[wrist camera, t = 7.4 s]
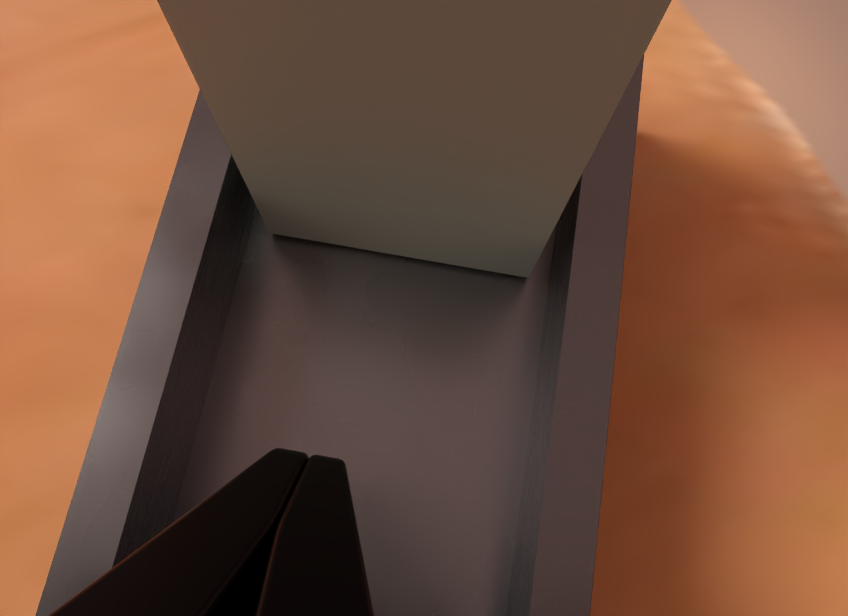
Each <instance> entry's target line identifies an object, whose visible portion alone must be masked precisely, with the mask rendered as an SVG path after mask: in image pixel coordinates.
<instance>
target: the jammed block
mask: <svg viewBox="0 0 848 616" xmlns="http://www.w3.org/2000/svg"><path fill="white" fill-rule="evenodd" d="M157 1H158V3H159V5H160V7H161V9H162V11H163V13H164V15H165V17H166V20H167V22H168V24H169V26H170V28H171V30H172V32H173V34H174V36H175V38H176V40H177V42H178V44H179V46H180V49H181V51H182V53H183V55H184V57H185V59H186V61H187V63H188V65H189V67H190V69H191V71H192V73H193V75H194V78H195V80H196V82H197V84H198V86H199V88H200V90H201V92H202V94H203V96H204V98H205V100H206V102H207V105H208V107H209V109H210V111H211V113H212V115H213V117H214V119H215V121H216V123H217V125H218V127H219V129H220V131H221V134H222V136H223V138H224V140H225V142H226V144H227V146H228V148H229V150H230V152H231V154H232V156H233V158H234V160H235V163H236V165H237V167H238V169H239V171H240V173H241V175H242V177H243V179H244V181H245V183H246V185H247V187H248V189H249V192H250V194H251V196H252V198H253V200H254V202H255V204H256V206H257V208H258V210H259V212H260V214H261V216H262V219H263V221H264V223H265V225H266V227H267V229H268V231H269V233H272V234H278V235H283V236H289V237H295V238H301V239H306V240H312V241H318V242H324V243H330V244H335V245H341V246H347V247H353V248H358V249H364V250H370V251H376V252H382V253H387V254H393V255H399V256H405V257H410V258H416V259H422V260H428V261H433V262H439V263H445V264H451V265H457V266H462V267H468V268H474V269H480V270H485V271H491V272H497V273H503V274H508V275H514V276H520V277H526V278H529V276H530V274H531V272H532V270H533V268H534V266H535V264H536V262H537V260H538V259H539V257H540V255H541V253H542V251H543V249H544V247H545V245H546V243H547V241H548V239H549V237H550V235H551V233H552V231H553V229H554V227H555V226H556V224H557V222H558V220H559V218H560V216H561V214H562V212H563V210H564V208H565V206H566V204H567V202H568V200H569V198H570V196H571V194H572V193H573V191H574V189H575V187H576V185H577V183H578V181H579V179H580V177H581V175H582V173H583V171H584V169H585V167H586V165H587V163H588V161H589V160H590V158H591V156H592V154H593V152H594V150H595V148H596V146H597V144H598V142H599V140H600V138H601V136H602V134H603V132H604V130H605V128H606V127H607V125H608V123H609V121H610V119H611V117H612V115H613V113H614V111H615V109H616V107H617V105H618V103H619V101H620V99H621V97H622V95H623V94H624V92H625V90H626V88H627V86H628V84H629V82H630V80H631V78H632V76H633V74H634V72H635V70H636V68H637V66H638V64H639V62H640V61H641V59H642V57H643V55H644V53H645V51H646V49H647V47H648V45H649V43H650V41H651V39H652V37H653V35H654V33H655V31H656V29H657V28H658V26H659V24H660V22H661V20H662V18H663V16H664V14H665V12H666V10H667V8H668V6H669V4H670V2H671V0H157Z"/></svg>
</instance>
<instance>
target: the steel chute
mask: <svg viewBox="0 0 848 616" xmlns="http://www.w3.org/2000/svg"><path fill="white" fill-rule="evenodd" d="M643 60H644V55H643V57H642V59H641V61H640V62H639V64H638V66H637V68H636V70H635V72H634V74H633V76H632V78H631V80H630V82H629V84H628V86H627V88H626V90H625V92H624V94H623V95H622V97H621V99H620V101H619V103H618V105H617V107H616V109H615V111H614V113H613V115H612V117H611V119H610V121H609V123H608V125H607V127H606V128H605V130H604V132H603V134H602V136H601V138H600V140H599V142H598V144H597V146H596V148H595V150H594V152H593V154H592V156H591V158H590V160H589V161H588V163H587V165H586V167H585V169H584V171H583V173H582V175H581V177H580V179H579V181H578V183H577V185H576V187H575V189H574V191H573V193H572V194H571V196H570V198H569V200H568V202H567V204H566V206H565V208H564V210H563V212H562V214H561V216H560V218H559V220H558V222H557V224H556V226H555V227H554V229H553V231H552V233H551V235H550V237H549V239H548V241H547V243H546V245H545V247H544V249H543V251H542V253H541V255H540V257H539V259H538V260H537V262H536V264H535V266H534V268H533V270H532V272H531V274H530V276H529V278H526V277H520V276H514V275H508V274H503V273H497V272H491V271H485V270H480V269H474V268H468V267H462V266H457V265H451V264H445V263H439V262H433V261H428V260H422V259H416V258H410V257H405V256H399V255H393V254H387V253H382V252H376V251H370V250H364V249H358V248H353V247H347V246H341V245H335V244H330V243H324V242H318V241H312V240H306V239H301V238H295V237H289V236H283V235H278V234H272V233H269V231H268V229H267V227H266V225H265V223H264V221H263V219H262V216H261V214H260V212H259V210H258V208H257V206H256V204H255V202H254V200H253V198H252V196H251V194H250V192H249V189H248V187H247V185H246V183H245V181H244V179H243V177H242V175H241V173H240V171H239V169H238V167H237V165H236V163H235V160H234V158H233V156H232V154H231V152H230V150H229V148H228V146H227V144H226V142H225V140H224V138H223V136H222V134H221V131H220V129H219V127H218V125H217V123H216V121H215V119H214V117H213V115H212V113H211V111H210V109H209V107H208V105H207V102H206V100H205V98H204V96H203V94H202V92H201V90H200V91H199V94H198V97H197V101H196V104H195V107H194V110H193V113H192V117H191V120H190V123H189V126H188V129H187V133H186V136H185V139H184V142H183V145H182V149H181V152H180V155H179V158H178V161H177V165H176V168H175V171H174V174H173V177H172V181H171V184H170V187H169V190H168V193H167V197H166V200H165V203H164V206H163V209H162V213H161V216H160V219H159V222H158V225H157V229H156V232H155V235H154V238H153V241H152V245H151V248H150V251H149V254H148V257H147V261H146V264H145V267H144V270H143V273H142V277H141V280H140V283H139V286H138V289H137V293H136V296H135V299H134V302H133V305H132V309H131V312H130V315H129V318H128V321H127V325H126V328H125V331H124V334H123V337H122V341H121V344H120V347H119V350H118V353H117V357H116V360H115V363H114V366H113V369H112V373H111V376H110V379H109V382H108V385H107V389H106V392H105V395H104V398H103V401H102V405H101V408H100V411H99V414H98V417H97V421H96V424H95V427H94V430H93V433H92V437H91V440H90V443H89V446H88V449H87V453H86V456H85V459H84V462H83V465H82V469H81V472H80V475H79V478H78V481H77V485H76V488H75V491H74V494H73V497H72V501H71V504H70V507H69V510H68V513H67V517H66V520H65V523H64V526H63V529H62V533H61V536H60V539H59V542H58V545H57V549H56V552H55V555H54V558H53V561H52V565H51V568H50V571H49V574H48V577H47V581H46V584H45V587H44V590H43V593H42V597H41V600H40V603H39V606H38V609H37V613H36V616H48V615H50V614H51V613H52V612H54V611H55V610H56V609H58V608H59V607H60V606H62V605H63V604H65V603H66V602H67V601H69V600H70V599H71V598H73V597H74V596H75V595H77V594H78V593H79V592H81V591H82V590H83V589H85V588H86V587H87V586H89V585H90V584H92V583H93V582H94V581H96V580H97V579H98V578H100V577H101V576H102V575H104V574H105V573H106V572H108V571H109V570H110V569H112V568H113V567H114V566H116V565H117V564H118V563H120V562H121V561H123V560H124V559H125V558H127V557H128V556H129V555H131V554H132V553H133V552H135V551H136V550H137V549H139V548H140V547H141V546H143V545H144V544H145V543H147V542H148V541H150V540H151V539H152V538H154V537H155V536H156V535H158V534H159V533H160V532H162V531H163V530H164V529H166V528H167V527H168V526H170V525H171V524H172V523H174V522H175V521H176V520H178V519H179V518H181V517H182V516H183V515H185V514H186V513H187V512H189V511H190V510H191V509H193V508H194V507H195V506H197V505H198V504H199V503H201V502H202V501H203V500H205V499H206V498H207V497H209V496H210V495H212V494H213V493H214V492H216V491H217V490H218V489H220V488H221V487H222V486H224V485H225V484H226V483H228V482H229V481H230V480H232V479H233V478H234V477H236V476H237V475H239V474H240V473H241V472H243V471H244V470H245V469H247V468H248V467H249V466H251V465H252V464H253V463H255V462H256V461H257V460H259V459H260V458H261V457H263V456H264V455H265V454H267V453H268V452H270V451H271V450H273V449H275V448H283V449H289V450H294V451H300V452H304V453H306V454H307V455H308V456H309V458H310V457H311V456H312V455H322V456H327V457H333V458H338V459H342V460H343V461H344V462H345V464H346V469H347V474H348V479H349V484H350V490H351V495H352V500H353V506H354V511H355V516H356V521H357V527H358V532H359V537H360V543H361V548H362V553H363V558H364V564H365V569H366V574H367V580H368V585H369V590H370V595H371V601H372V606H373V611H374V616H590V607H591V597H592V587H593V576H594V566H595V556H596V545H597V535H598V525H599V514H600V504H601V494H602V483H603V473H604V463H605V452H606V442H607V432H608V421H609V411H610V401H611V390H612V380H613V370H614V359H615V349H616V339H617V328H618V318H619V308H620V297H621V287H622V277H623V266H624V256H625V246H626V235H627V225H628V215H629V204H630V194H631V184H632V174H633V163H634V153H635V143H636V132H637V122H638V112H639V101H640V91H641V81H642V70H643Z"/></svg>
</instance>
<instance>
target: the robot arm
mask: <svg viewBox="0 0 848 616" xmlns="http://www.w3.org/2000/svg"><path fill="white" fill-rule="evenodd" d="M48 616H374V611H373V606H372V601H371V595H370V590H369V585H368V580H367V574H366V569H365V564H364V558H363V553H362V548H361V543H360V537H359V532H358V527H357V521H356V516H355V511H354V506H353V500H352V495H351V490H350V484H349V479H348V474H347V469H346V464H345V462H344V461H343V460H342V459H338V458H333V457H327V456H322V455H312V456H311V457H310V458H309V456H308V455H307V454H306V453H304V452H300V451H294V450H289V449H283V448H275V449H273V450H271V451H270V452H268V453H267V454H265V455H264V456H263V457H261V458H260V459H259V460H257V461H256V462H255V463H253V464H252V465H251V466H249V467H248V468H247V469H245V470H244V471H243V472H241V473H240V474H239V475H237V476H236V477H234V478H233V479H232V480H230V481H229V482H228V483H226V484H225V485H224V486H222V487H221V488H220V489H218V490H217V491H216V492H214V493H213V494H212V495H210V496H209V497H207V498H206V499H205V500H203V501H202V502H201V503H199V504H198V505H197V506H195V507H194V508H193V509H191V510H190V511H189V512H187V513H186V514H185V515H183V516H182V517H181V518H179V519H178V520H176V521H175V522H174V523H172V524H171V525H170V526H168V527H167V528H166V529H164V530H163V531H162V532H160V533H159V534H158V535H156V536H155V537H154V538H152V539H151V540H150V541H148V542H147V543H145V544H144V545H143V546H141V547H140V548H139V549H137V550H136V551H135V552H133V553H132V554H131V555H129V556H128V557H127V558H125V559H124V560H123V561H121V562H120V563H118V564H117V565H116V566H114V567H113V568H112V569H110V570H109V571H108V572H106V573H105V574H104V575H102V576H101V577H100V578H98V579H97V580H96V581H94V582H93V583H92V584H90V585H89V586H87V587H86V588H85V589H83V590H82V591H81V592H79V593H78V594H77V595H75V596H74V597H73V598H71V599H70V600H69V601H67V602H66V603H65V604H63V605H62V606H60V607H59V608H58V609H56V610H55V611H54V612H52V613H51V614H50V615H48Z"/></svg>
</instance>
